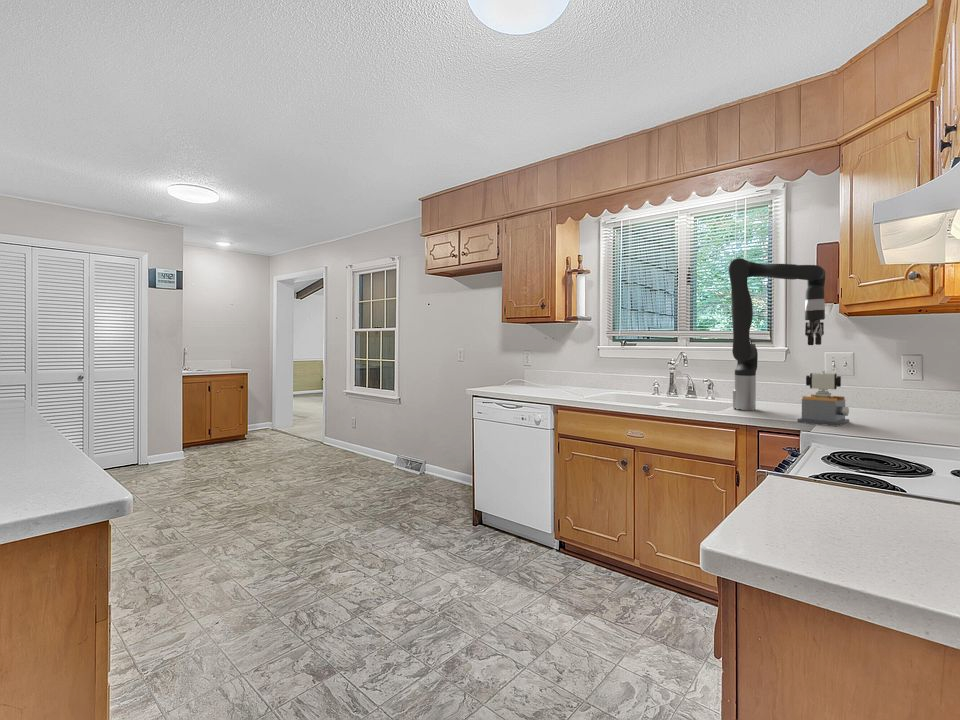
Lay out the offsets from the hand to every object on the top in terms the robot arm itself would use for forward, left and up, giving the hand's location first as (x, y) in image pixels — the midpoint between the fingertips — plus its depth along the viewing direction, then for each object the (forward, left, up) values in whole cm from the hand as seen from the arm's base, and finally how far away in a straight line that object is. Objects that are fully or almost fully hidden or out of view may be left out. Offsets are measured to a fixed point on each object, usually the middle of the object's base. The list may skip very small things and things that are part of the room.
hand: (814, 344), depth 219 cm
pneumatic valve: (+10, -19, -23) cm, 31 cm away
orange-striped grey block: (+10, -19, -32) cm, 39 cm away
